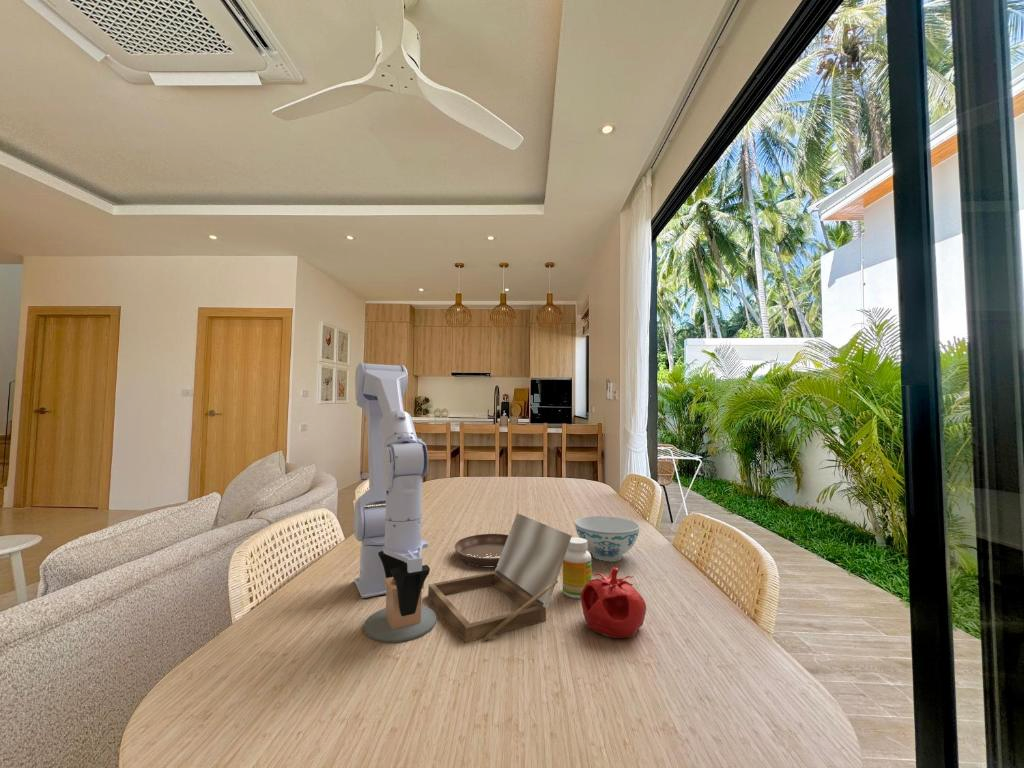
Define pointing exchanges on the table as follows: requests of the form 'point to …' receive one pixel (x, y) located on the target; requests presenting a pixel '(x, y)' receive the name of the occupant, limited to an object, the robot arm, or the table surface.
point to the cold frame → (512, 579)
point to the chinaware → (607, 535)
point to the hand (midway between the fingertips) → (401, 604)
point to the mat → (383, 632)
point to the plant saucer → (481, 548)
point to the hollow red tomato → (613, 606)
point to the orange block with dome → (393, 607)
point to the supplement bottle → (576, 567)
